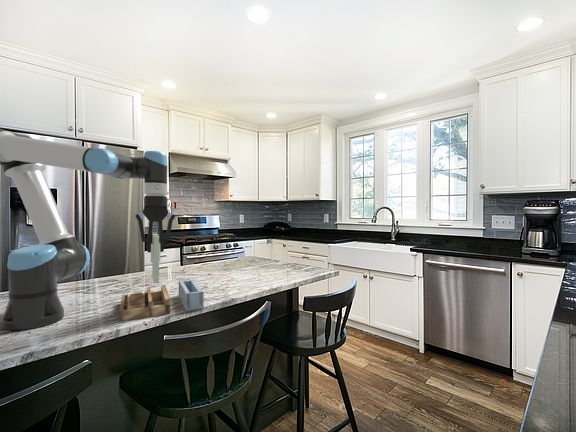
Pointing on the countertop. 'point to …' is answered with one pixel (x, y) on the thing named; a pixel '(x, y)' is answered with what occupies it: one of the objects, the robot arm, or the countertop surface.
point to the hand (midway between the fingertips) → (155, 261)
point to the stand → (191, 295)
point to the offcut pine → (134, 293)
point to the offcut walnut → (137, 299)
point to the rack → (150, 309)
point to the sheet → (155, 258)
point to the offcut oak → (134, 306)
